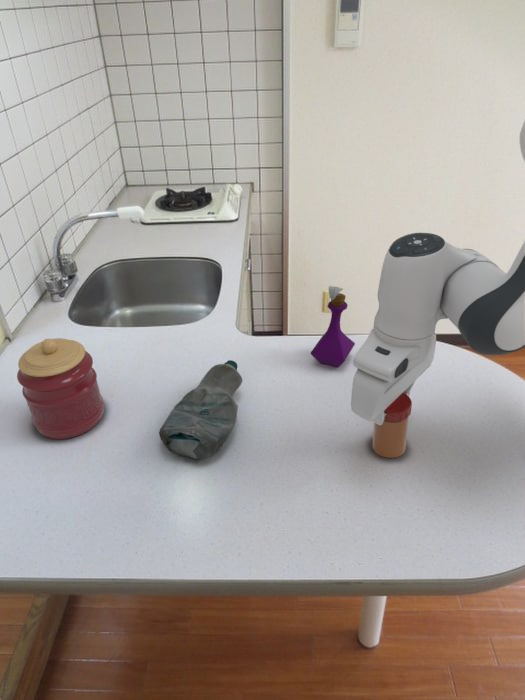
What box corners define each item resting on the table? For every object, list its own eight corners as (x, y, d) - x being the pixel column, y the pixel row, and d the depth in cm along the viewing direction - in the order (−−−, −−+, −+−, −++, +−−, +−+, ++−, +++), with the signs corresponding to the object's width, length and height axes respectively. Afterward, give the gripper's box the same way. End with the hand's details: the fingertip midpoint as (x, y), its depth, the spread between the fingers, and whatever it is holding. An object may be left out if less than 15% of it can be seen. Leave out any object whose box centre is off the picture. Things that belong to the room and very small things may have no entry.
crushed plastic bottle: (218, 472, 88) (266, 382, 107) (211, 440, 84) (262, 353, 103) (150, 459, 92) (208, 375, 111) (140, 429, 88) (202, 347, 107)
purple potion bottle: (322, 348, 118) (325, 275, 108) (354, 355, 115) (360, 281, 105) (309, 365, 112) (311, 290, 102) (343, 374, 109) (348, 297, 99)
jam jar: (400, 434, 94) (404, 391, 89) (409, 456, 89) (414, 413, 84) (369, 437, 94) (371, 395, 88) (376, 459, 89) (379, 416, 84)
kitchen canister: (100, 389, 108) (81, 314, 98) (110, 428, 98) (90, 350, 88) (33, 406, 104) (6, 330, 94) (36, 449, 94) (7, 369, 84)
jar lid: (369, 400, 89) (369, 391, 88) (404, 396, 89) (405, 388, 88) (378, 423, 84) (378, 414, 83) (415, 420, 84) (416, 411, 83)
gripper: (415, 307, 87) (404, 374, 95) (346, 362, 75) (340, 433, 83) (451, 320, 84) (436, 388, 92) (385, 379, 71) (374, 452, 79)
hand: (390, 410), depth 87 cm, fingers closed on jar lid, 6 cm apart
